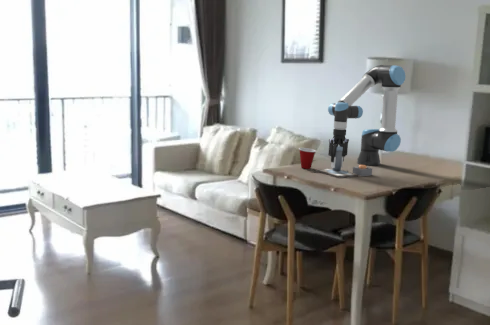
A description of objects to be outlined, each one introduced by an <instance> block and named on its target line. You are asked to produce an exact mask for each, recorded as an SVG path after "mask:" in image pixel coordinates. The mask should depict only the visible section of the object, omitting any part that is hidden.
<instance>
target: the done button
mask: <svg viewBox="0 0 490 325" xmlns="http://www.w3.org/2000/svg"><path fill="white" fill-rule="evenodd" d="M358 167H359V168H361V169H366V167H368V165H363V164H359V165H358Z"/></svg>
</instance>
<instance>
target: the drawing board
mask: <svg viewBox="0 0 490 325" xmlns="http://www.w3.org/2000/svg"><path fill="white" fill-rule="evenodd" d="M316 172H318V173H321V174H323V175H326V176H330V177H334V178H336V179H341V178H355V177H359V175H357V174H354V173H353V172H350V171H347V170H343V169H341V170H340V171H336V170H332V168H322V169H316Z"/></svg>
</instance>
